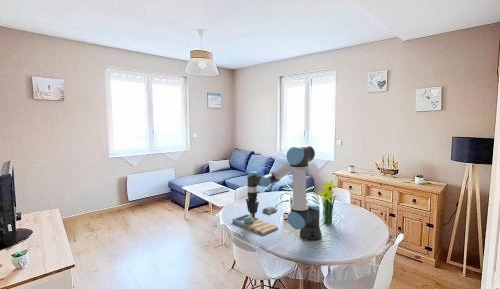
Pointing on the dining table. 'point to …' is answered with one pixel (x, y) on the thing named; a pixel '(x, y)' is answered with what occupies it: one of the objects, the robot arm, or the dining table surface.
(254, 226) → the slatted wooden board
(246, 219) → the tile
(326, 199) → the daffodil flowers
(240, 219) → the tray
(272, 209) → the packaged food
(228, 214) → the dining table surface
